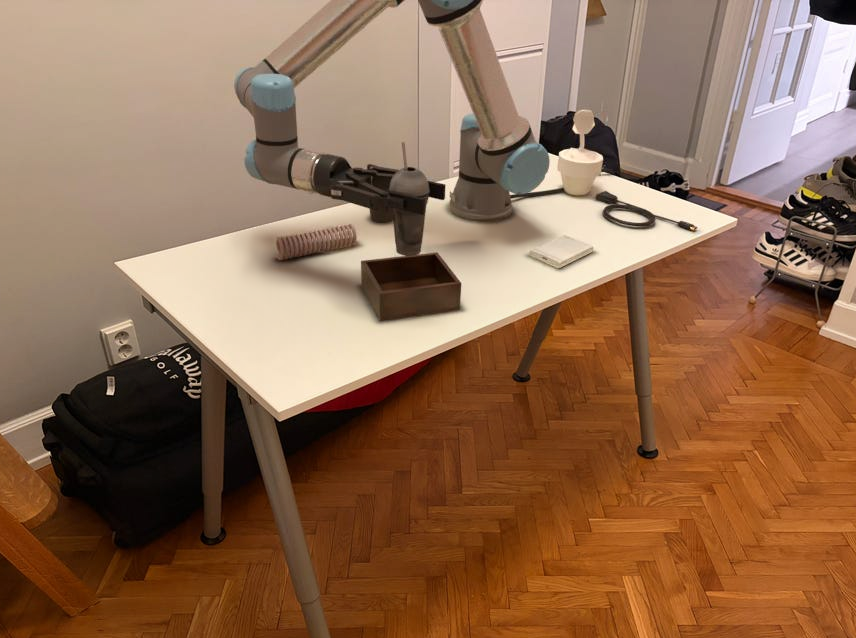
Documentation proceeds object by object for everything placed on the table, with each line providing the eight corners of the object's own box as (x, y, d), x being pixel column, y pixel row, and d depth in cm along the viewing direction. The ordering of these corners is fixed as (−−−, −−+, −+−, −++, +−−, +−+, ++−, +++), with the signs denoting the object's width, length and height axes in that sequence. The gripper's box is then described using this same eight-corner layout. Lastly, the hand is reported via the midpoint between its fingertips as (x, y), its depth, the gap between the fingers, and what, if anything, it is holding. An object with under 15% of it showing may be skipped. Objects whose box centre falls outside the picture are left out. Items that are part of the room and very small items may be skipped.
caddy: (436, 277, 146) (437, 252, 143) (459, 309, 136) (461, 283, 133) (361, 286, 141) (360, 260, 138) (379, 320, 131) (379, 293, 128)
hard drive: (564, 234, 164) (530, 249, 156) (593, 246, 159) (560, 262, 151) (563, 241, 165) (529, 256, 157) (592, 252, 160) (559, 269, 152)
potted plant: (592, 203, 185) (609, 103, 171) (549, 195, 188) (561, 96, 174) (602, 187, 195) (618, 92, 181) (560, 180, 198) (573, 85, 184)
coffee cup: (373, 228, 165) (372, 186, 159) (359, 215, 170) (358, 174, 165) (405, 222, 168) (405, 181, 163) (390, 210, 174) (390, 169, 168)
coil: (279, 245, 145) (360, 229, 153) (271, 234, 147) (351, 219, 156) (280, 264, 148) (360, 248, 156) (272, 253, 150) (351, 238, 159)
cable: (666, 244, 166) (667, 238, 165) (570, 207, 182) (571, 201, 181) (696, 230, 174) (698, 224, 173) (603, 195, 190) (604, 190, 189)
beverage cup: (426, 260, 130) (430, 150, 119) (386, 258, 130) (386, 148, 119) (429, 243, 136) (432, 137, 125) (390, 241, 136) (390, 135, 125)
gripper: (352, 178, 142) (457, 201, 135) (291, 211, 127) (407, 240, 120) (351, 140, 138) (459, 162, 131) (288, 169, 123) (407, 196, 115)
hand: (434, 199), depth 125 cm, fingers closed on beverage cup, 7 cm apart
